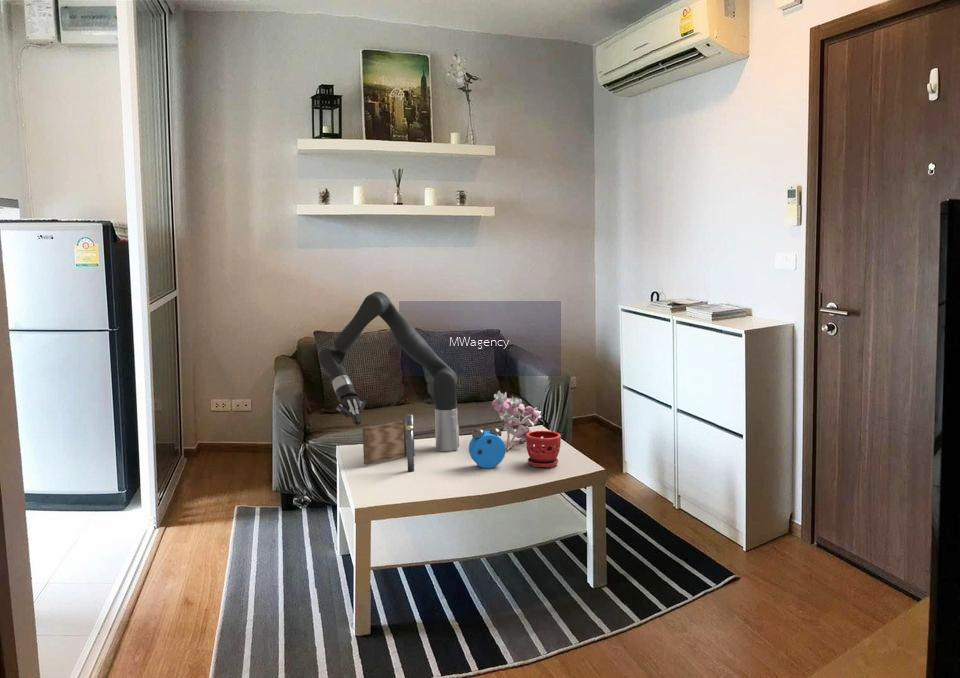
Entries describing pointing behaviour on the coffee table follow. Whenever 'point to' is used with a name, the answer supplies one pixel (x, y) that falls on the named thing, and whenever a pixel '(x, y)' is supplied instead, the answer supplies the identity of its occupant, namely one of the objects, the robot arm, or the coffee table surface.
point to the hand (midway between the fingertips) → (358, 423)
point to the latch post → (410, 448)
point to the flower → (511, 408)
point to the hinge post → (411, 422)
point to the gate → (384, 442)
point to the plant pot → (543, 448)
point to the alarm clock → (487, 447)
